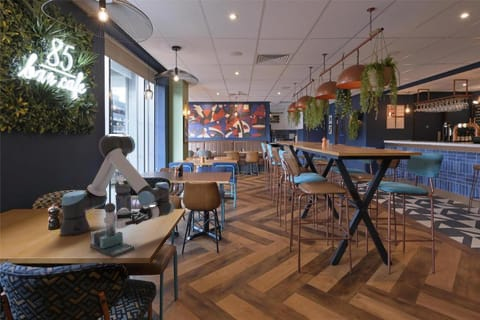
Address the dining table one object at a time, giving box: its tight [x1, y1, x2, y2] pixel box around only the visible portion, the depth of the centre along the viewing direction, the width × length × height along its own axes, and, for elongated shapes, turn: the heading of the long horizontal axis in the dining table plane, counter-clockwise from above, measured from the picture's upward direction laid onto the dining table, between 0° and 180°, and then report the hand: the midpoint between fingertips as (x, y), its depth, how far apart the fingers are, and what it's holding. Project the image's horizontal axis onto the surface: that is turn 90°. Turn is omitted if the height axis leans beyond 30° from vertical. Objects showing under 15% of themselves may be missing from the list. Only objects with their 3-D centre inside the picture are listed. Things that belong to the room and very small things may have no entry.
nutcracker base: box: [89, 228, 135, 259], centre depth 133 cm, size 22×11×8 cm, turn 54°
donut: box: [117, 208, 129, 223], centre depth 174 cm, size 10×4×10 cm, turn 160°
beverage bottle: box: [114, 180, 132, 213], centre depth 195 cm, size 10×13×25 cm
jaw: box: [100, 202, 124, 249], centre depth 133 cm, size 5×10×21 cm, turn 144°
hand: (111, 222), depth 132 cm, fingers open, 13 cm apart
